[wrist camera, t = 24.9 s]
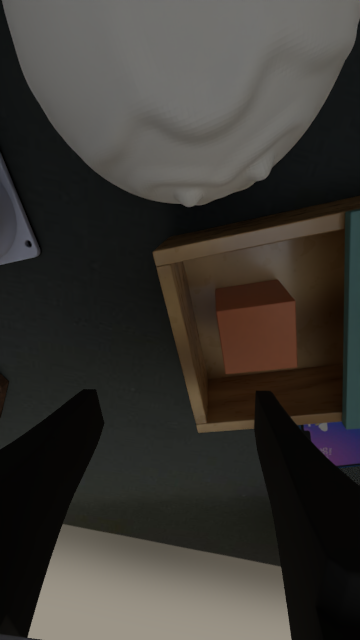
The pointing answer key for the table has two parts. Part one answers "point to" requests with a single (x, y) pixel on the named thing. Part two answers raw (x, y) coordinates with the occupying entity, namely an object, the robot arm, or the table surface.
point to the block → (257, 327)
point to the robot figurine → (2, 391)
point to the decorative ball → (182, 84)
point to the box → (251, 267)
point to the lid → (351, 322)
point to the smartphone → (335, 442)
